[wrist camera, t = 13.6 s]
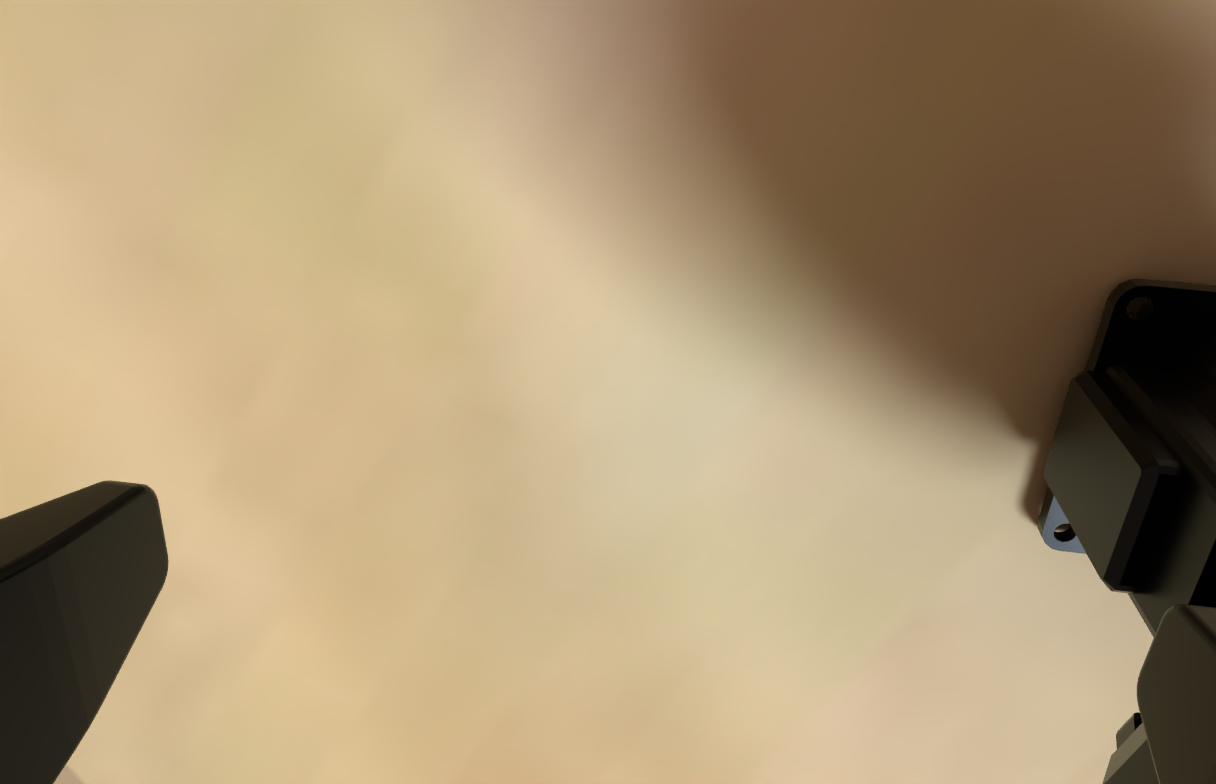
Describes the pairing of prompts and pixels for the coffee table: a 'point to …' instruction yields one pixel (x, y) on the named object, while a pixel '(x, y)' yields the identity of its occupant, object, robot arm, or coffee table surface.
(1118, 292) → the robot arm
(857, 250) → the coffee table surface
